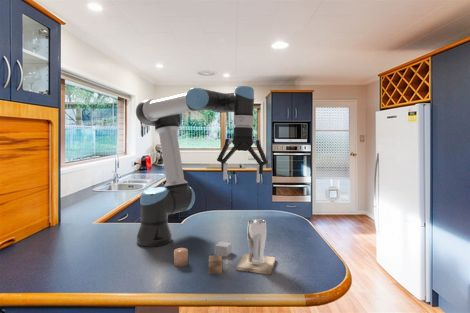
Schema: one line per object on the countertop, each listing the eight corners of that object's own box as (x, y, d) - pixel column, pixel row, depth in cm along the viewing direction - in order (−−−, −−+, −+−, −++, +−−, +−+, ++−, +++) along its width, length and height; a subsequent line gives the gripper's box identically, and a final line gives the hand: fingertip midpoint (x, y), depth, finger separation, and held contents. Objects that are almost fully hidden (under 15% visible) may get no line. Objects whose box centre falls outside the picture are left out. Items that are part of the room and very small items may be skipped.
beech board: (236, 269, 101) (236, 266, 101) (244, 256, 113) (244, 253, 113) (270, 274, 98) (270, 271, 98) (275, 260, 109) (275, 257, 109)
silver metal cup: (250, 266, 101) (250, 224, 100) (244, 258, 108) (244, 219, 107) (268, 264, 103) (269, 223, 102) (261, 257, 110) (262, 218, 109)
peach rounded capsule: (171, 265, 104) (171, 252, 104) (177, 260, 109) (177, 247, 109) (184, 267, 103) (184, 253, 103) (189, 261, 108) (189, 248, 107)
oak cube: (208, 273, 98) (208, 260, 98) (209, 267, 103) (209, 255, 103) (221, 273, 99) (222, 260, 98) (221, 267, 103) (221, 255, 103)
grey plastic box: (215, 255, 114) (215, 245, 114) (220, 250, 119) (220, 241, 119) (226, 257, 112) (226, 247, 112) (231, 252, 117) (231, 243, 117)
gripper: (209, 125, 113) (208, 179, 114) (273, 127, 105) (270, 184, 107) (216, 126, 120) (215, 177, 121) (276, 128, 112) (274, 181, 114)
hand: (241, 180), depth 114 cm, fingers open, 13 cm apart
